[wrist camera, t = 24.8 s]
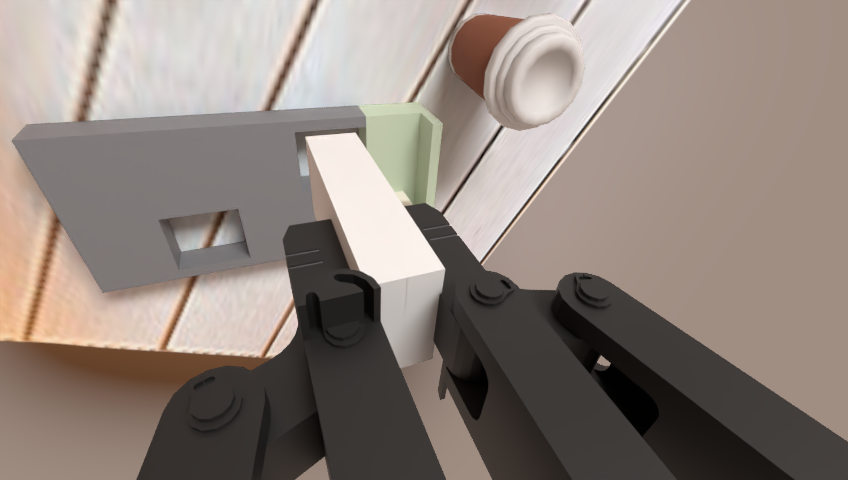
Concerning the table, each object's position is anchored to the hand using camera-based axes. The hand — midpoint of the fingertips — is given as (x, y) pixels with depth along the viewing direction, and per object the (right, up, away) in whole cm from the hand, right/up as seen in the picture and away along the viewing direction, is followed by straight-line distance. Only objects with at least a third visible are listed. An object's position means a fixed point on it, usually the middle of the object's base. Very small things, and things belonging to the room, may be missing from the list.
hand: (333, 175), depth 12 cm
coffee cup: (+8, +17, +27) cm, 33 cm away
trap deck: (-13, +4, +27) cm, 30 cm away
